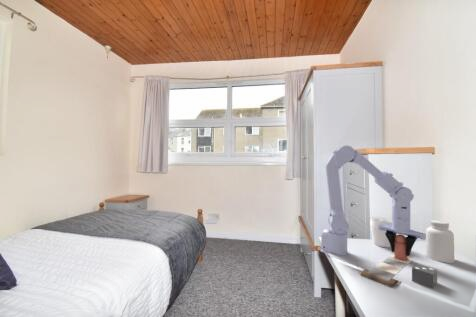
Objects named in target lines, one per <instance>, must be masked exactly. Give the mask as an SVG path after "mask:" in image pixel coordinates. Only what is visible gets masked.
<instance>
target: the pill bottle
mask: <svg viewBox="0 0 476 317" xmlns="http://www.w3.org/2000/svg"><path fill="white" fill-rule="evenodd" d="M429 222H430V223H429V224H430V226H429V227H427V228H426V230H425V234H426V239H425V242H426V243H425V245H426V246H425V247H426V253H425V254H426V257H427V258H429V259H431V260H434V261H437V262H441V263H448V264H453V263H455V235H454V232H453V231H452V230H450V229H449V228H450V227H449V225H450V224H449V222H448V221H447V222H446V221H444V220H443V221H442V220H434V219H432V220H430V221H429Z"/></svg>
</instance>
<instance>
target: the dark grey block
mask: <svg viewBox="0 0 476 317" xmlns="http://www.w3.org/2000/svg"><path fill="white" fill-rule="evenodd" d="M411 281H412V282H414V283H418V284H420V285H422V286H425V287H428V288H431V289H434V288H435V287H436V285H437V284H438V269H436V268H433V267H430V266H426V265H423V264H420V263H416V264H415V265H413V266H412V268H411Z"/></svg>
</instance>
